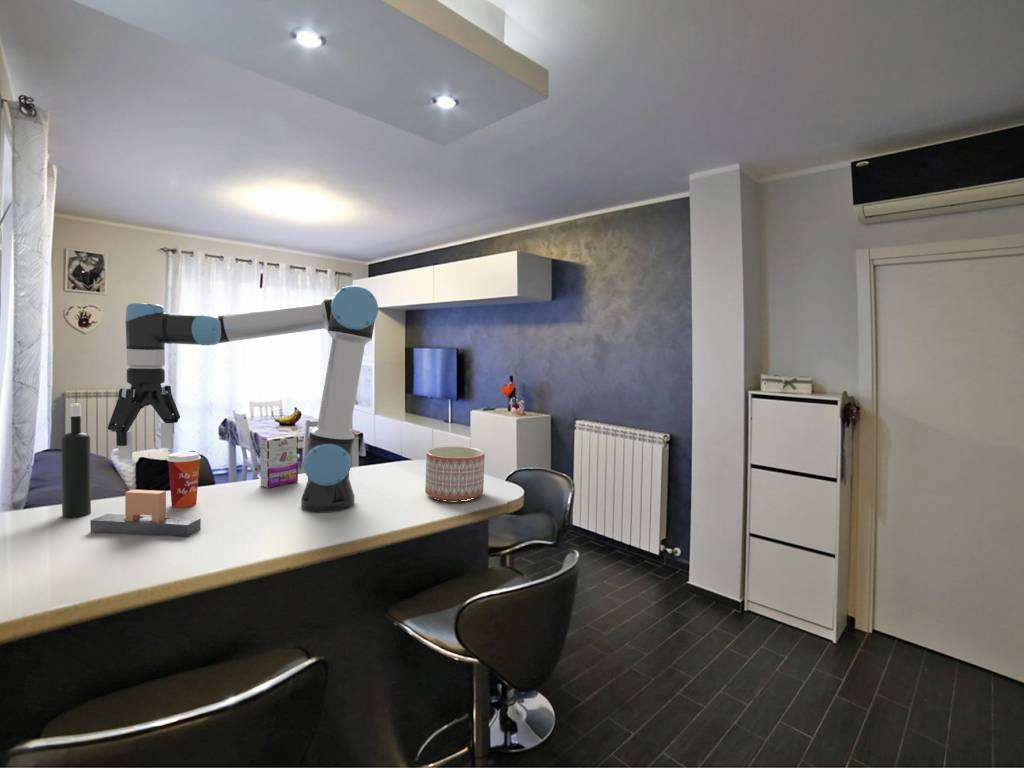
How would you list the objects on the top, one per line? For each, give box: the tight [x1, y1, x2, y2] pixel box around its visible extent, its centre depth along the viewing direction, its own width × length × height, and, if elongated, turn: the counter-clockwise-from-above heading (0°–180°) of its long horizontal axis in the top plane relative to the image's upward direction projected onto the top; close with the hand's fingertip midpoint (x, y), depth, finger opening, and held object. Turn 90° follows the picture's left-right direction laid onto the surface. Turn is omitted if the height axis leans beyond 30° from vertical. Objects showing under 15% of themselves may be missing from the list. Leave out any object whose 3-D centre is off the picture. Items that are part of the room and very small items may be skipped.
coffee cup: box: [166, 451, 202, 509], centre depth 144 cm, size 8×8×15 cm
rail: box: [90, 513, 202, 538], centre depth 123 cm, size 24×5×3 cm, turn 89°
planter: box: [424, 445, 486, 501], centre depth 164 cm, size 19×19×15 cm
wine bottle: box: [60, 402, 92, 519], centre depth 132 cm, size 6×6×30 cm
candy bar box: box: [259, 434, 299, 489], centre depth 170 cm, size 11×5×16 cm, turn 147°
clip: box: [124, 489, 167, 523], centre depth 123 cm, size 8×2×10 cm, turn 89°
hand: (147, 453), depth 122 cm, fingers open, 13 cm apart
